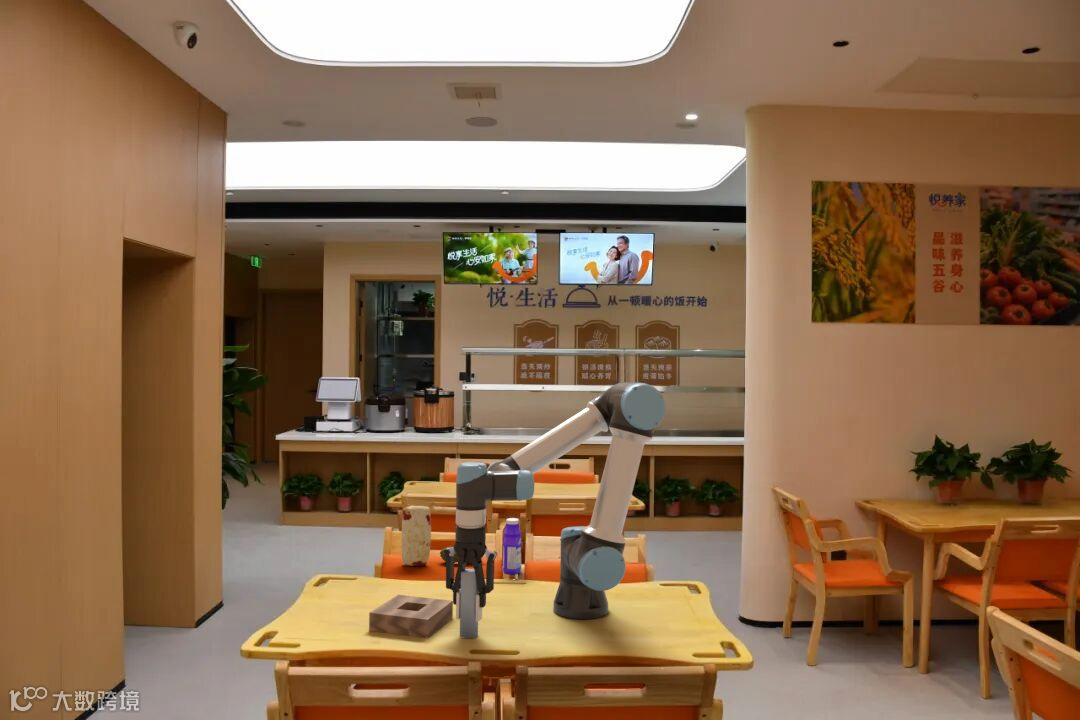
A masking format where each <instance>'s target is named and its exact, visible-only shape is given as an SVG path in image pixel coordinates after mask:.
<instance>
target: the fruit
mask: <svg viewBox="0 0 1080 720" xmlns="http://www.w3.org/2000/svg"><path fill="white" fill-rule="evenodd" d="M449 547H450V548H452V547H454V545H450V546H447V547H444V548H442V549H441V550H440V551H439V554H440V556H439V557H441V559H442V560H443V561H444V562H445V563H446V557H445V554H444V550H445V549H447V548H449ZM458 561H459V557H458V555H457V554H456V552H455V555H454V563H455V562H458Z"/></svg>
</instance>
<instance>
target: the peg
mask: <svg viewBox="0 0 1080 720" xmlns="http://www.w3.org/2000/svg"><path fill="white" fill-rule="evenodd" d="M460 590H461V595H460V619H459V637H460V638H463V639H475V638H477V637H479V622H477V621H475V620H476V595H477V594H478V593H479V591H478V586H477V580H476V575H475V570H474V568H465V570H463V571H462V572H461V589H460Z"/></svg>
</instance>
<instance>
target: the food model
mask: <svg viewBox="0 0 1080 720" xmlns="http://www.w3.org/2000/svg"><path fill="white" fill-rule="evenodd" d="M431 521H432V518H431V509H430V507H428V506H426V505H425V506H424V505H410V506H406V507H404V508H403V509H402V523H401V563H402V564H404V565H405V566H411V567H413V566H414V567H415V566H416V567H423V566H426V565H427V564H428V562H429V558H430V554H431V545H432V544H431V543H432V523H431Z"/></svg>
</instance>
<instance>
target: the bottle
mask: <svg viewBox="0 0 1080 720" xmlns="http://www.w3.org/2000/svg"><path fill="white" fill-rule="evenodd" d="M505 524H506V525H505V529H504V531H503V534H504V537H503V539H502V540H503V543H502V546H503V547H502V551H503V553H502V572H503V574H504V575H506V576H507V575H508V576H515V575H518V574H520V572H521V570H522V536H521V534H522V531H521V530H520V519H519V518H515V517H510V518H507V519H506V523H505Z"/></svg>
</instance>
